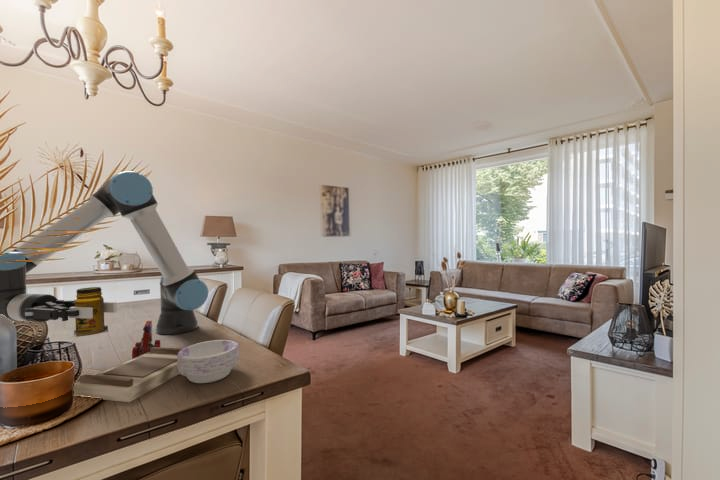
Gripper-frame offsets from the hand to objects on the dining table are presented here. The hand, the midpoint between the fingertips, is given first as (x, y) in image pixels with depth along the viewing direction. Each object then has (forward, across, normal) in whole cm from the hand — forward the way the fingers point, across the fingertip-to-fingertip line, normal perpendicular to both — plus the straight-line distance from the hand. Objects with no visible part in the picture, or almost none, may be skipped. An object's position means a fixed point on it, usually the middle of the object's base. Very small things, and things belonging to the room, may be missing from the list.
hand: (103, 310), depth 89 cm
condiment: (-5, -1, -6) cm, 8 cm away
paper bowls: (+26, -7, -19) cm, 33 cm away
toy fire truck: (-4, -18, -19) cm, 27 cm away
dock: (+9, -3, -19) cm, 21 cm away
